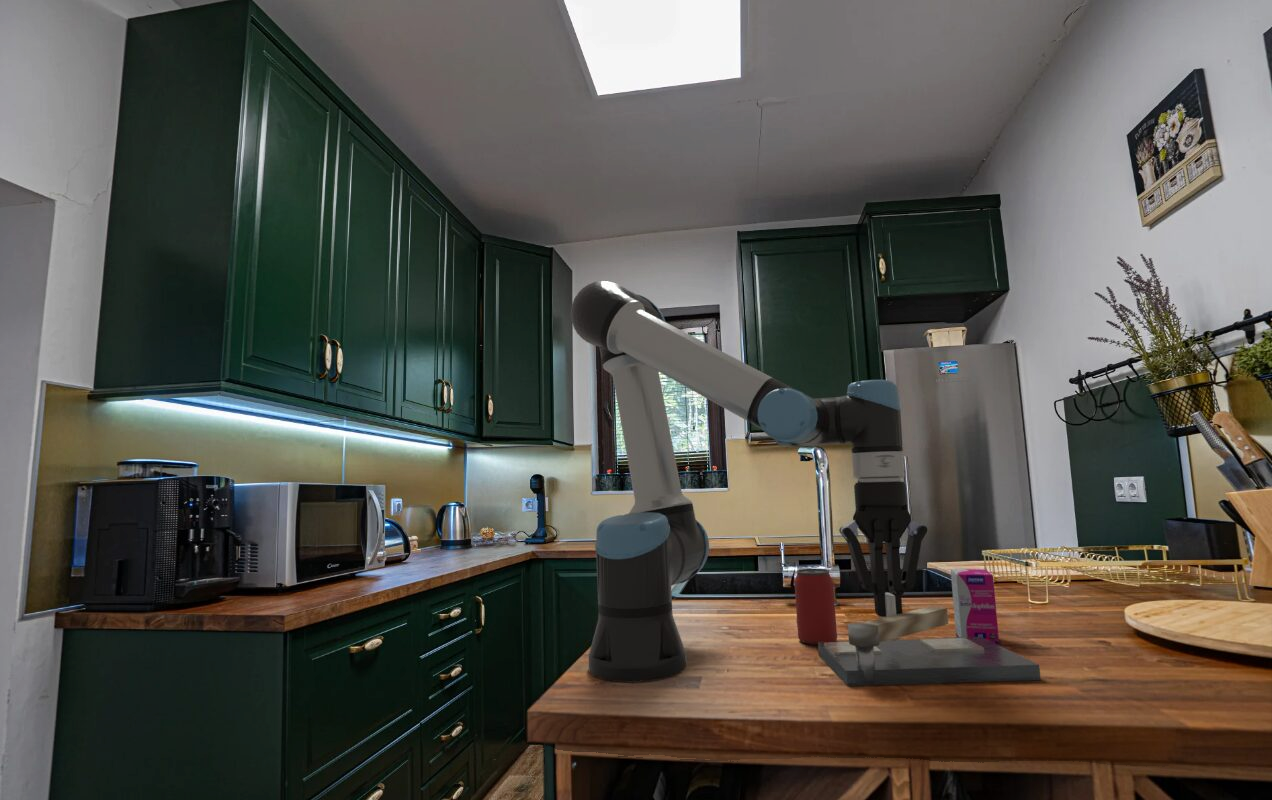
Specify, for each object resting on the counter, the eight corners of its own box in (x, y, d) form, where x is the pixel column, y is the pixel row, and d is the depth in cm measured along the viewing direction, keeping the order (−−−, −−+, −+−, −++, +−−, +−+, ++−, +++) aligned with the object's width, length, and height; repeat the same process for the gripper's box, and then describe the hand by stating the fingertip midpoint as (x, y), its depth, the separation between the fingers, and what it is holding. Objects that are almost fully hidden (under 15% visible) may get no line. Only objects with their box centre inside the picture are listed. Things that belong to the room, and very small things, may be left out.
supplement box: (961, 644, 109) (955, 573, 111) (955, 635, 115) (949, 568, 116) (1000, 645, 108) (993, 573, 109) (992, 636, 113) (985, 568, 115)
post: (861, 686, 90) (858, 648, 91) (855, 680, 92) (853, 643, 93) (878, 685, 90) (875, 647, 91) (873, 680, 92) (870, 643, 93)
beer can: (790, 640, 117) (786, 570, 118) (820, 635, 119) (815, 567, 121) (815, 647, 111) (810, 574, 112) (845, 642, 114) (840, 570, 115)
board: (847, 686, 90) (846, 667, 91) (818, 655, 106) (817, 639, 106) (1040, 680, 90) (1038, 661, 90) (982, 649, 106) (981, 634, 106)
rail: (867, 648, 89) (865, 630, 89) (842, 643, 92) (841, 625, 93) (953, 625, 100) (951, 608, 101) (929, 621, 104) (927, 605, 104)
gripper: (843, 481, 99) (854, 645, 96) (931, 479, 98) (944, 643, 95) (830, 481, 106) (840, 633, 103) (912, 479, 106) (924, 632, 103)
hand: (890, 638), depth 99 cm, fingers closed
